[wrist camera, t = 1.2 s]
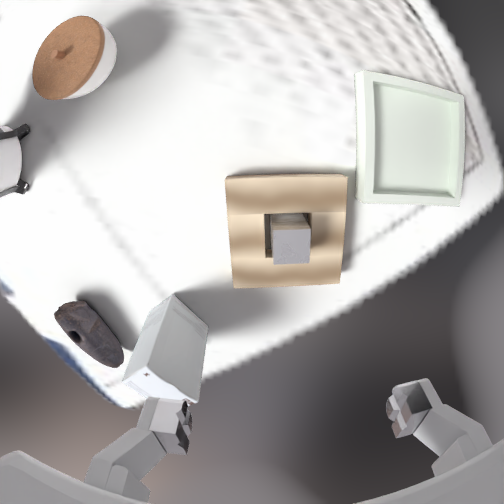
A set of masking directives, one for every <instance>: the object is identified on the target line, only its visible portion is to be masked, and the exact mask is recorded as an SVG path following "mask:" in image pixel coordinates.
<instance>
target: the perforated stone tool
mask: <svg viewBox="0 0 504 504" xmlns="http://www.w3.org/2000/svg"><path fill="white" fill-rule="evenodd" d="M54 315H55V319H56V321H57V322H58V323H59V325H60V326H61V327H62V329H63V330H64V331H65V333H66V334H67V335H68V336H69V337H70V338H71V340H72V341H73V342H74V343H76V345H78V346H79V347H80V348H81V349H82V350H83V351H85V352H86V353H87V354H89V355H90V356H91V357H92V358H94V359H95V360H97V361H98V362H100V363H102V364H104V365H106V366H109V367H112V368H118V367H119V366H120V365H121V364H122V363H123V361H124V354H123V350H122V347H121V345H120V343H119V341H118V339H117V338H116V337H115V335H114V334H113V333H112V332H111V331H110V329H109V327H108V326H107V325H106V324H105V322H104V321H103V320H102V319H101V317H100V316H99V315H98V314H97V313H96V312H95V311H94V310H92V309H91V307H90V306H88V304H87V303H86V302H85V301H73V302H69V303H65V304H63V305H62V306H61V307H59V309H58V310H57V311H56V312H55V313H54Z"/></svg>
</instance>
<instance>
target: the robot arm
mask: <svg viewBox="0 0 504 504" xmlns="http://www.w3.org/2000/svg"><path fill="white" fill-rule="evenodd" d="M392 392H393V395H392V396H391V397H389V399H388V401H387V405H386V410H387V415H388V418H389V419H391V420H392V421H393V424H392V428H393V431H394V434H395V437H396V438H399V437H403V436H406V435H410V434H413V433H414V434H413V435H414V436H416V437H417V438H418V439H419V440H421V441H422V442H423V443H424V444H425V445H426V446H428V447H429V448H430V449H431V450H432V451H434V452H435V453H436V454H437V455H438V456H440V458H438V459H437V460H436V461H435V462H434V463H433V465H432V469H433V472H434V475H435V477H434V478H431V479H429V480H427V481H424V482H422V483H419V484H417V485H414V486H412V487H409V488H406V489H403V490H400V491H398V492H395V493H391V494H389V495H385V496H382V497H378V498H375V499H371V500H367V501H363V502H359V503H355V504H504V439H502V440H501V441H499V442H498V443H496V444H495V445H492V443H491V441H490V439H489V437H488V435H487V433H486V431H485V430H484V428H483V426H482V425H481V424H480V423H478V422H476V421H474V420H472V419H470V418H469V417H467V416H465V415H463V414H462V413H460V412H458V411H457V410H455V409H453V408H452V407H450V406H448V405H446V404H444V405H443V404H442V402H441V400H440V399H439V397H438V395H437V393H436V392H435V390H434V388H433V386H432V384H431V383H430V381H429V380H428V379H427V378H424V379H421V380H417V381H412V382H409V383H405V384H401V385H397V386H395V387H394V388H393V390H392ZM187 408H188V404H187V402H186V401H183V400H173V399H165V398H158V397H150V396H149V397H148V398H147V399H146V401H145V404H144V406H143V409H142V412H141V415H140V418H139V421H138V424H137V427H136V428H132V429H130V430H129V431H128V432H126V433H125V434H124V435H123V436H121V437H120V438H118V439H117V440H116V441H114V442H113V443H111V444H110V445H109V446H107V447H106V448H104V449H103V450H102V451H100V452H99V453H97V454H96V455H95V456H93V458H92V461H91V464H90V466H89V469H88V471H87V474H86V477H85V479H84V482H82V481H79V480H77V479H75V478H73V477H70V476H68V475H66V474H64V473H62V472H59V471H57V470H55V469H53V468H51V467H49V466H47V465H45V464H43V463H42V462H40V461H38V460H36V459H34V458H33V457H31V456H29V455H27V454H26V453H24V452H22V451H14V452H11V453H9V454H6V455H4V456H2V457H0V504H152V503H148V499H149V495H150V490H149V488H148V487H147V486H145V485H144V484H143V483H142V482H141V481H140V480H141V479H142V478H143V477H144V476H145V475H146V474H147V473H148V472H149V471H150V470H151V469H152V468H153V467H154V466H155V465H156V464H157V463H158V462H159V461H160V460H161V459H162V458H163V457H164V456H165V455H166V454H167V453H173V454H183V455H187V452H188V447H189V439H188V437H187V436H188V435H189V434H190V433H191V431H192V415H191V412H190V411H188V410H187Z"/></svg>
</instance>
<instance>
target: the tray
mask: <svg viewBox="0 0 504 504" xmlns="http://www.w3.org/2000/svg"><path fill="white" fill-rule="evenodd" d="M354 81H355V98H356V135H357V150H356V188H355V198H356V199H358V200H359V201H361V202H362V203H367V204H411V205H435V206H454V207H459V206H460V199H461V191H462V181H463V170H464V154H465V107H464V96H463V95H460V94H457V93H455V92H452V91H449V90H445V89H442V88H439V87H436V86H432V85H429V84H425V83H422V82H418V81H414V80H410V79H406V78H402V77H397V76H392V75H387V74H382V73H377V72H371V71H365V70H362V71H360V72H358V73H356V74H354Z"/></svg>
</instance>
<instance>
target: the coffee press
mask: <svg viewBox="0 0 504 504" xmlns="http://www.w3.org/2000/svg"><path fill="white" fill-rule="evenodd" d="M29 132H30V129H29V128H28V126H27V124H24V125H22V126H20V127H19V128H17V129H16V130H12V129H11V128H9V127H7V126H0V199H1V198H3V197H5V196H7V195H9V194H10V193H13V192H16V193H20V194H25V192H26V191H27V189H28V187H29V186H28V184H27V183H26V182H24V181H22V180H21V179H20V178H19V177H20V173H21V167H22V152H21V146H20V142H19V141H20V140H21V139H22V138H23V137H25V136H26V135H27V134H28V133H29ZM16 185H18V186H16ZM19 186H20V187H19Z"/></svg>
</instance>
